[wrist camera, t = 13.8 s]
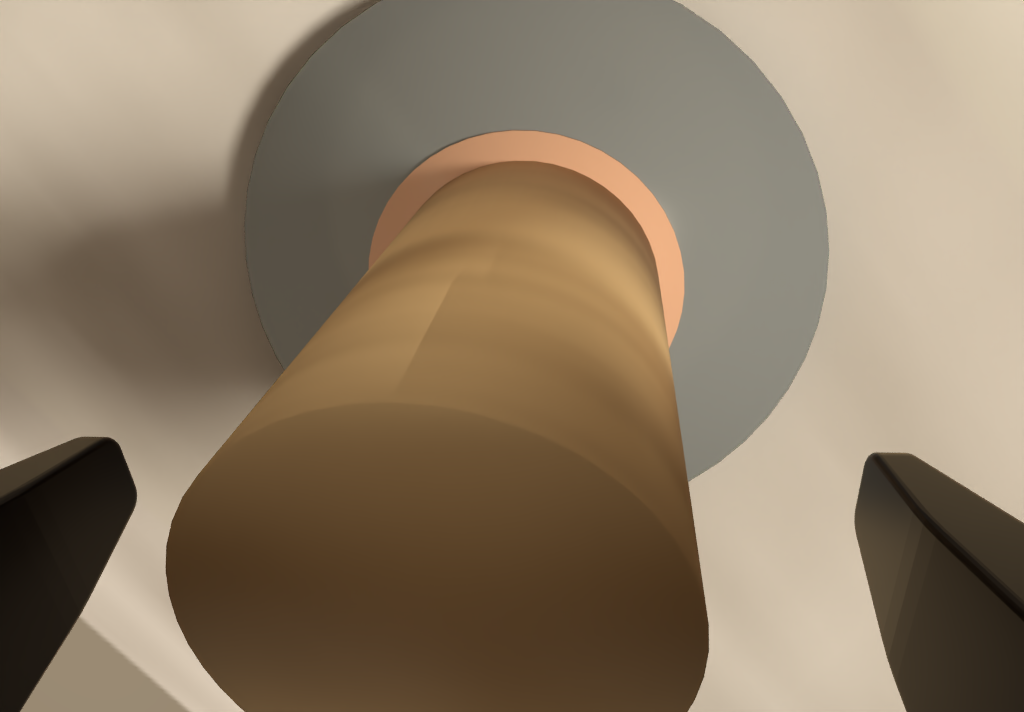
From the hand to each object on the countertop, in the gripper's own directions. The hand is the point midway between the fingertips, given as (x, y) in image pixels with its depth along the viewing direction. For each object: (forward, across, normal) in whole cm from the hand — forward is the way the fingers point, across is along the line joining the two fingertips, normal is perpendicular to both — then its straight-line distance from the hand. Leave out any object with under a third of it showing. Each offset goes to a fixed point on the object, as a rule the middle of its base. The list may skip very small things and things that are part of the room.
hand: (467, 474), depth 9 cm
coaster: (+7, 0, 0) cm, 7 cm away
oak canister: (+6, 0, 0) cm, 6 cm away
